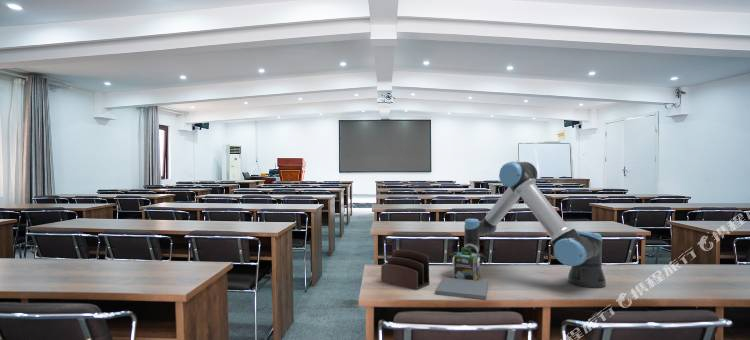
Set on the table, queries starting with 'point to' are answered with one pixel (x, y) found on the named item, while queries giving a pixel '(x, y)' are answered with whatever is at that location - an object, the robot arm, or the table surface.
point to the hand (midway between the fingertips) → (465, 262)
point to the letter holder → (406, 269)
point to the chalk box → (466, 265)
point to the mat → (462, 288)
